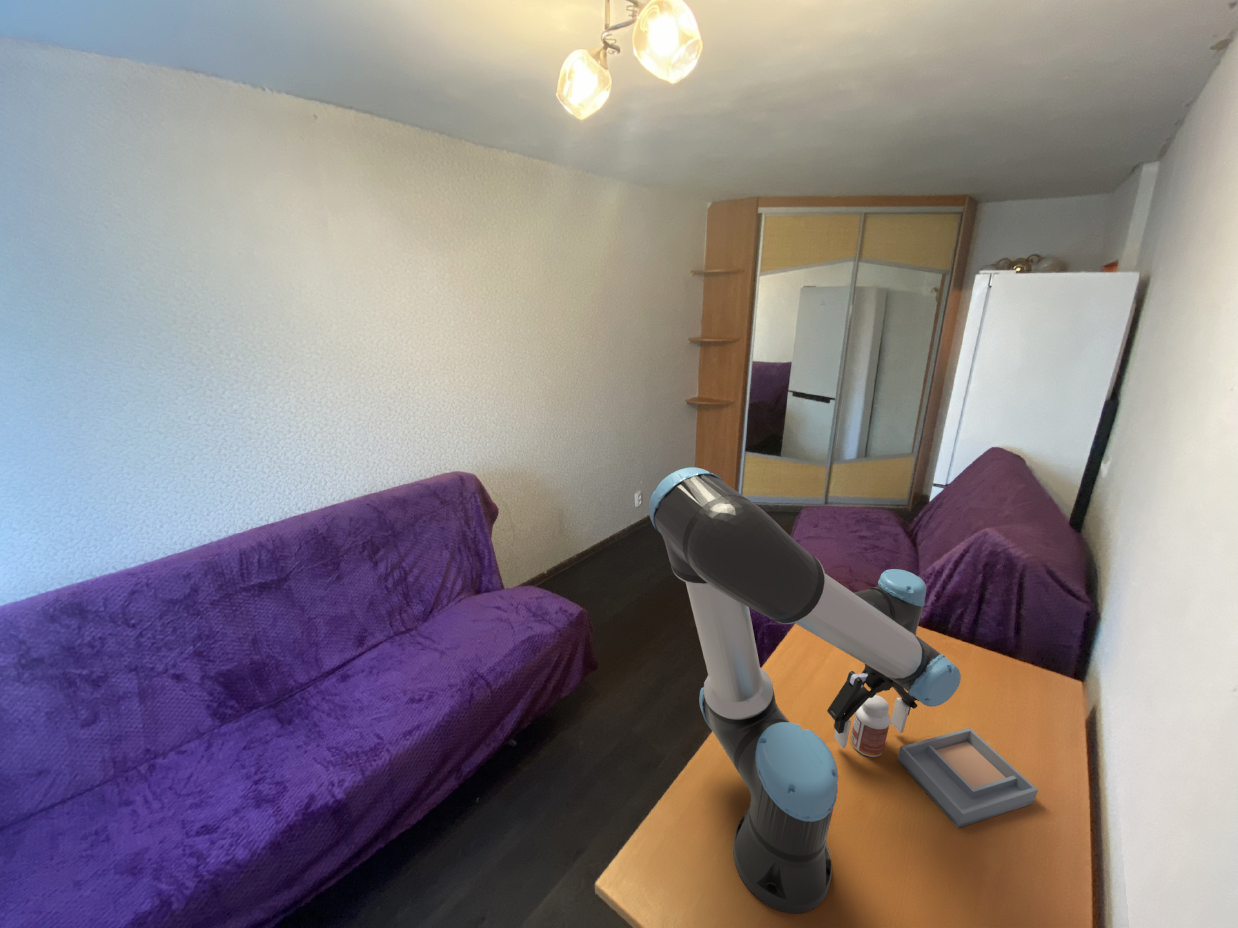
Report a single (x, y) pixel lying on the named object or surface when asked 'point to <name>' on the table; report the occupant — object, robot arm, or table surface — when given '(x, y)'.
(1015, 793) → the walled box
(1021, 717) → the table surface
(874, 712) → the pill bottle
